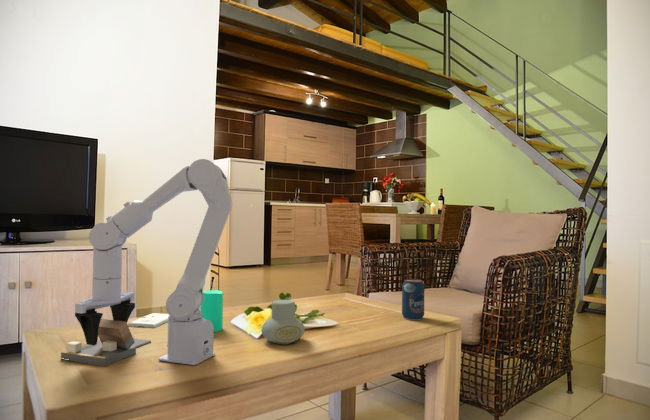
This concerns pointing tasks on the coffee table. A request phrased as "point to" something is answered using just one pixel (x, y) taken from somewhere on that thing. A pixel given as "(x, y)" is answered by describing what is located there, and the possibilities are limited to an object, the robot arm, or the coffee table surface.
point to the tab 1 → (74, 346)
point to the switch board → (98, 354)
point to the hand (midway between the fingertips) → (105, 339)
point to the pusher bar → (115, 333)
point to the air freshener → (283, 323)
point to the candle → (213, 308)
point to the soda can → (413, 299)
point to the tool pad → (137, 342)
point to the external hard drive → (150, 320)
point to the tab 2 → (109, 345)
